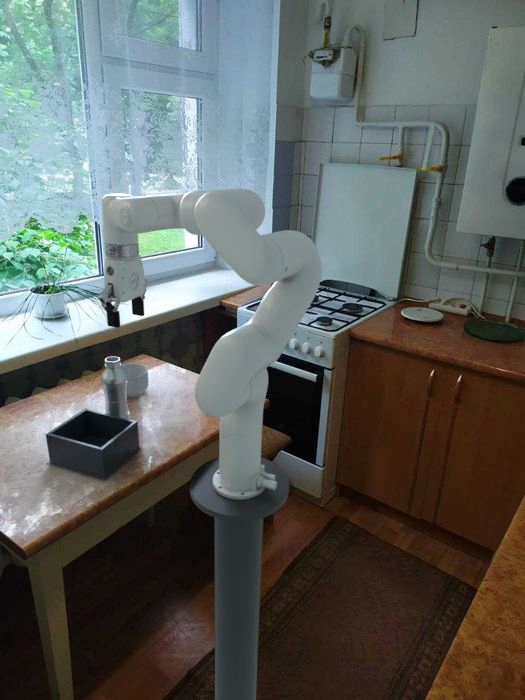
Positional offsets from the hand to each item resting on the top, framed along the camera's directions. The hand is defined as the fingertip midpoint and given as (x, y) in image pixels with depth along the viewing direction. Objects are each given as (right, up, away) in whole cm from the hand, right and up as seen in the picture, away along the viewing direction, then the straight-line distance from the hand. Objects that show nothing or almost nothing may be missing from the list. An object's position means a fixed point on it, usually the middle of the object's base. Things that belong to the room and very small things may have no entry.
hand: (126, 320), depth 120 cm
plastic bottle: (-5, -28, +12) cm, 31 cm away
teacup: (-8, -20, +32) cm, 38 cm away
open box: (-7, -33, 0) cm, 34 cm away
